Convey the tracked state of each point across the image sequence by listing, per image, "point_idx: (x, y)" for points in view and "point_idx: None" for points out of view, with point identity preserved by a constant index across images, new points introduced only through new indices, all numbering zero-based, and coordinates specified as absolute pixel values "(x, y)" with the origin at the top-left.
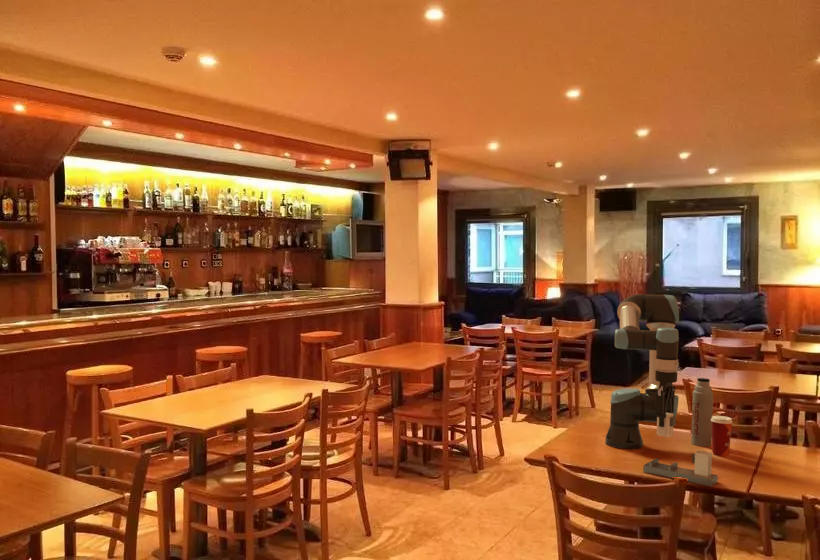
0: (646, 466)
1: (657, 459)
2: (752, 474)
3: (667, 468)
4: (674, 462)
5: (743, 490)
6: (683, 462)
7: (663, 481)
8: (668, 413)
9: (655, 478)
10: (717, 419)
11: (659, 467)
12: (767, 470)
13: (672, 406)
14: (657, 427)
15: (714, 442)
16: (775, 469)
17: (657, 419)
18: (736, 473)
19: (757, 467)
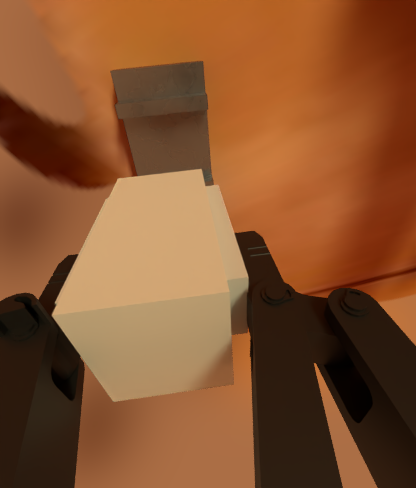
0: (115, 88)
1: (194, 108)
2: (334, 287)
3: (162, 170)
4: (208, 181)
5: None
6: (362, 126)
7: (91, 184)
8: (186, 370)
9: (93, 150)
10: None
11: (146, 142)
12: (384, 292)
13: (349, 428)
14: (107, 211)
15: None
16: (400, 297)
17: (82, 257)
18: (322, 267)
19: (401, 274)
